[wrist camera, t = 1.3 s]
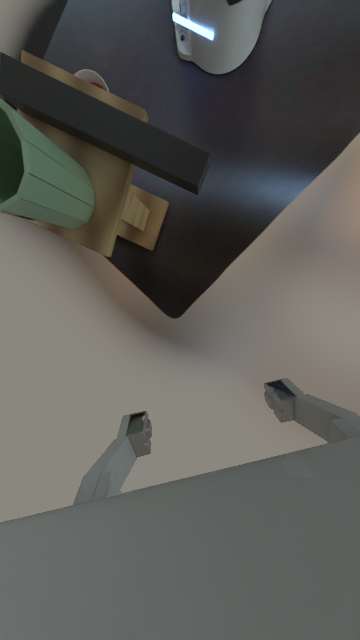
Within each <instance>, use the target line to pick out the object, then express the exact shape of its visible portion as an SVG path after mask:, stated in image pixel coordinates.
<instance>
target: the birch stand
mask: <svg viewBox="0 0 360 640" xmlns="http://www.w3.org/2000/svg"><path fill="white" fill-rule="evenodd" d="M21 62H22V63H24V64H26V65H28V66H30V67H32V68H35V69H37V70H39V71H41V72H43V73H45V74H47V75H49V76H51V77H53V78H55V79H57V80H59V81H61V82H63V83H65V84H67V85H70V86H72V87H74V88H76V89H78V90H80V91H82V92H84V93H86V94H88V95H90V96H92V97H94V98H96V99H98V100H100V101H103V102H105V103H107V104H109V105H111V106H113V107H115V108H117V109H119V110H121V111H123V112H125V113H127V114H129V115H131V116H133V117H135V118H138V119H140V120H142V121H144V122H146V123H147V122H148V116H147V114H146V111H145V110H144V109H142V108H140V107H138V106H136V105H134V104H132V103H130V102H128V101H126V100H124V99H121V98H119V97H117V96H115V95H113V94H111V93H109V92H107V91H105V90H103V89H101V88H99V87H97V86H95V85H93V84H91V83H89V82H87V81H85V80H83V79H80V78H78V77H76V76H74V75H72V74H70V73H68V72H66V71H64V70H62V69H60V68H58V67H56V66H54V65H52V64H50V63H48V62H46V61H44V60H42V59H39V58H37V57H35V56H33V55H31V54H29V53H27V52H25V51H23V50H22V53H21ZM17 112H18V113H19V114H20V115H21V116H23V117H24V118H25V119H26V120H27V121H29V122H30V123H31V124H32V125H33V126H35V127H36V128H37V129H38V130H39V131H41V132H42V133H43V134H44V135H46V136H47V137H48V138H49V139H50V140H52V141H53V142H54V143H55V144H56V145H58V146H59V147H60V148H61V149H62V150H64V151H65V152H66V153H67V154H68V155H70V156H71V157H72V158H73V159H74V160H76V161H77V162H78V163H79V164H80V165H81V166H83V167H84V168H85V169H86V170H87V172H88V174H89V177H90V179H91V181H92V183H93V186H94V189H95V210H94V212H93V214H92V216H91V217H90V219H89V221H88V222H87V224H85V225H83V226H81V227H79V228H77V229H74V230H73V229H66V228H60V227H56V226H52V225H48V224H44V223H40V222H36V221H32V220H28V219H25V220H27V221H30V222H32V223H34V224H36V225H38V226H41V227H43V228H45V229H47V230H50V231H52V232H54V233H56V234H58V235H61V236H63V237H65V238H67V239H69V240H72V241H74V242H76V243H78V244H80V245H83V246H85V247H87V248H89V249H91V250H94V251H96V252H99V253H100V254H103V255H105V256H108V257H111V255H112V251H113V247H114V244H115V240H116V236H117V235H118V236H120V237H123V238H125V239H127V240H129V241H131V242H134V243H136V244H138V245H140V246H142V247H145V248H147V249H149V250H151V251H153V249H154V246H155V243H156V240H157V237H158V234H159V232H160V229H161V226H162V223H163V220H164V217H165V214H166V211H167V209H168V206H169V203H168V202H167V201H165V200H163V199H161V198H159V197H157V196H155V195H152V194H150V193H148V192H146V191H144V190H142V189H140V188H138V187H135V186H133V185H131V181H132V177H133V173H134V170H135V165H133V164H131V163H129V162H127V161H125V160H123V159H120V158H118V157H116V156H114V155H112V154H110V153H108V152H106V151H104V150H101V149H99V148H97V147H95V146H93V145H91V144H89V143H87V142H85V141H83V140H80V139H78V138H76V137H74V136H72V135H70V134H68V133H66V132H64V131H61V130H59V129H57V128H55V127H53V126H51V125H49V124H47V123H45V122H42V121H40V120H38V119H36V118H34V117H32V116H30V115H28V114H26V113H24V112H21V111H20V110H19V109H18V110H17ZM23 219H24V218H23Z"/></svg>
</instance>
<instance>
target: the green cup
mask: <svg viewBox="0 0 360 640" xmlns="http://www.w3.org/2000/svg"><path fill="white" fill-rule="evenodd" d="M94 210H95V189H94V186H93V183H92V181H91V179H90V177H89V174H88V172H87V170H86V169H85V168H84V167H83V166H81V165H80V164H79V163H78V162H77V161H76V160H74V159H73V158H72V157H71V156H70V155H68V154H67V153H66V152H65V151H64V150H62V149H61V148H60V147H59V146H58V145H56V144H55V143H54V142H53V141H52V140H50V139H49V138H48V137H47V136H46V135H44V134H43V133H42V132H41V131H39V130H38V129H37V128H36V127H35V126H33V125H32V124H31V123H30V122H29V121H27V120H26V119H25V118H24V117H23V116H21V115H20V114H19V113H18V112H16V111H15V110H14V109H13V108H12V107H10V106H9V105H8V104H7V103H6V102H4V101H3V100H2V99H1V98H0V212H1V213H5V214H9V215H13V216H17V217H21V218H24V219H28V220H32V221H36V222H40V223H44V224H48V225H52V226H56V227H60V228H66V229H73V230H74V229H77V228H79V227H81V226H83V225H85V224H87V222H88V221H89V219H90V217H91V216H92V214H93V212H94Z"/></svg>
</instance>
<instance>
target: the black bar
mask: <svg viewBox="0 0 360 640" xmlns="http://www.w3.org/2000/svg"><path fill="white" fill-rule="evenodd" d="M0 93H1V95H3V96H4V97H5V98H6V99H7V100H8V101H10V102H11V103H12V104H13V105H14V106H16V107H17V108H18V109H19V110H20V111H21V112H24V113H26V114H28V115H30V116H32V117H34V118H36V119H38V120H40V121H42V122H45V123H47V124H49V125H51V126H53V127H55V128H57V129H59V130H61V131H64V132H66V133H68V134H70V135H72V136H74V137H76V138H78V139H80V140H83V141H85V142H87V143H89V144H91V145H93V146H95V147H97V148H99V149H101V150H104V151H106V152H108V153H110V154H112V155H114V156H116V157H118V158H120V159H123V160H125V161H127V162H129V163H131V164H133V165H135V166H137V167H139V168H141V169H144V170H146V171H148V172H150V173H152V174H154V175H156V176H158V177H160V178H163V179H165V180H167V181H169V182H171V183H173V184H175V185H177V186H179V187H182V188H184V189H186V190H188V191H190V192H192V193H194V194H196V195H198V194H199V191H200V188H201V186H202V183H203V181H204V178H205V176H206V173H207V171H208V168H209V162H210V153H208V152H206V151H203V150H201V149H199V148H197V147H195V146H193V145H191V144H189V143H187V142H185V141H183V140H181V139H179V138H177V137H175V136H173V135H171V134H168V133H166V132H164V131H162V130H160V129H158V128H156V127H154V126H152V125H150V124H148V123H146V122H144V121H142V120H140V119H138V118H135V117H133V116H131V115H129V114H127V113H125V112H123V111H121V110H119V109H117V108H115V107H113V106H111V105H109V104H107V103H105V102H103V101H100V100H98V99H96V98H94V97H92V96H90V95H88V94H86V93H84V92H82V91H80V90H78V89H76V88H74V87H72V86H70V85H67V84H65V83H63V82H61V81H59V80H57V79H55V78H53V77H51V76H49V75H47V74H45V73H43V72H41V71H39V70H37V69H35V68H32V67H30V66H28V65H26V64H24V63H22V62H20V61H18V60H16V59H14V58H12V57H10V56H8V55H6V54H4V53H2V52H1V53H0Z"/></svg>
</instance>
